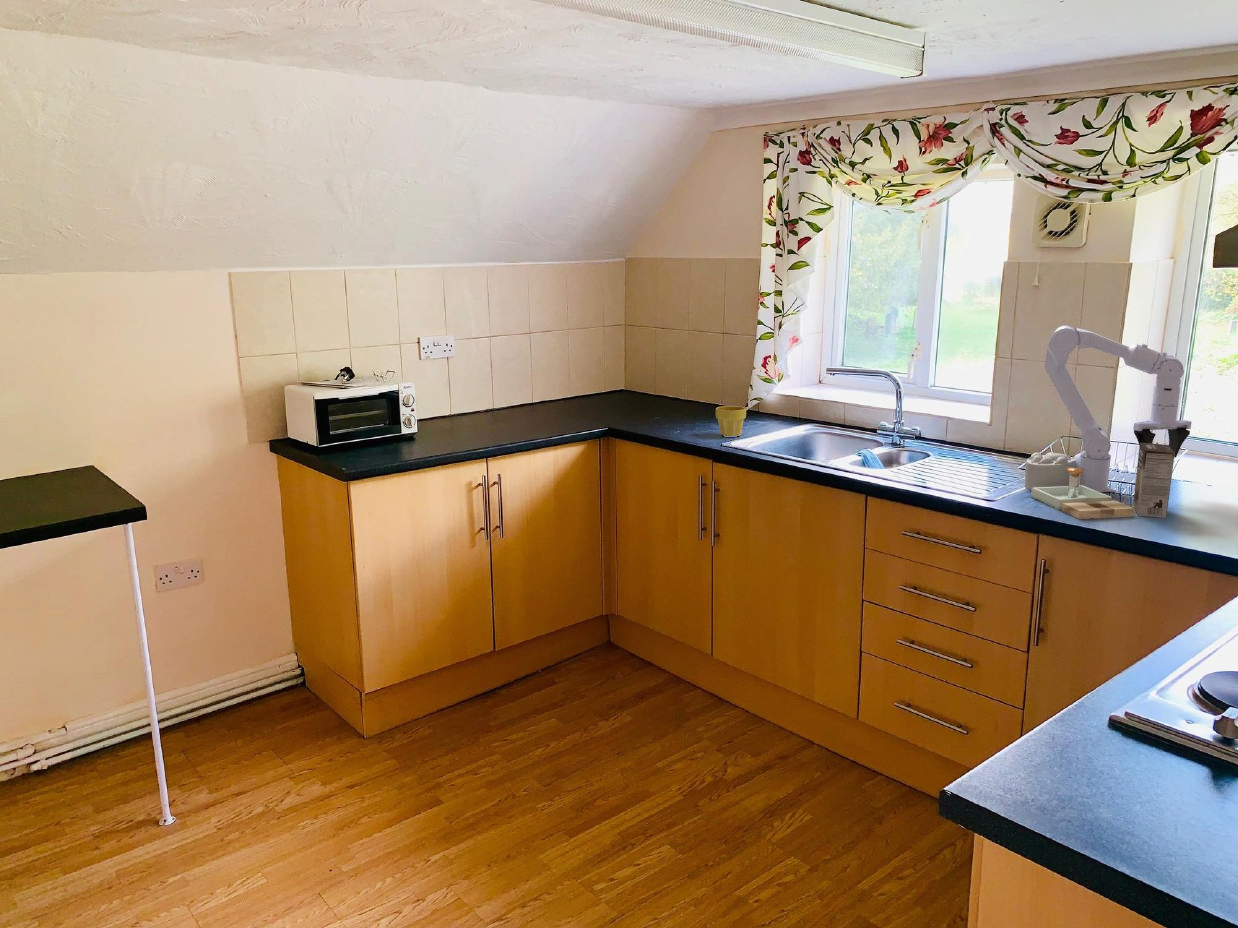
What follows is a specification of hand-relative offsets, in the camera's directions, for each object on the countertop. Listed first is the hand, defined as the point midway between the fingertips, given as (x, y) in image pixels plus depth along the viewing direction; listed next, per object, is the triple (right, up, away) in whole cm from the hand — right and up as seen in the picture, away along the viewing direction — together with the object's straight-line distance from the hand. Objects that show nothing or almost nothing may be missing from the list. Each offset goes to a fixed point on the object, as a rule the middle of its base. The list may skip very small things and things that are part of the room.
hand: (1158, 457), depth 241 cm
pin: (-24, -11, -4) cm, 26 cm away
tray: (-24, -11, -3) cm, 27 cm away
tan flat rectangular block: (-23, -14, -14) cm, 30 cm away
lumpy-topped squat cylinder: (-23, -8, +11) cm, 27 cm away
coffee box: (-10, -14, -13) cm, 21 cm away
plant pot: (-100, +8, +83) cm, 130 cm away
